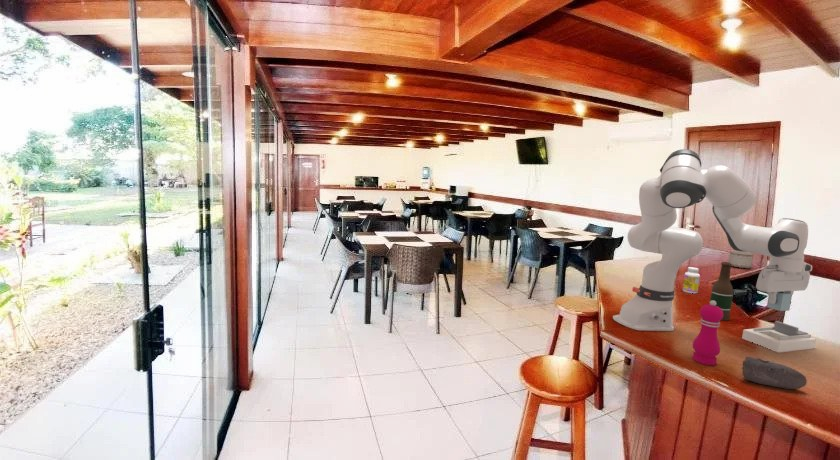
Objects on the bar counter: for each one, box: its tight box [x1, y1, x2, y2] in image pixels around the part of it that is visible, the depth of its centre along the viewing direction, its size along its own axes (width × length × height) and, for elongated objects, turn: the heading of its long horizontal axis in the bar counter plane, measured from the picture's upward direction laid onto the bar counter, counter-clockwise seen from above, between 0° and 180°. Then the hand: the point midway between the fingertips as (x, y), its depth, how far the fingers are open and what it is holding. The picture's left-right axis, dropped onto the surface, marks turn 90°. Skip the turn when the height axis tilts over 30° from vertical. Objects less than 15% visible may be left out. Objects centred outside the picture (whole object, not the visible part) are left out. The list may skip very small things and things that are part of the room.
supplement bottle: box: [682, 266, 701, 294], centre depth 212 cm, size 7×7×13 cm
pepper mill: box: [692, 300, 723, 366], centre depth 129 cm, size 7×7×20 cm
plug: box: [766, 292, 793, 312], centre depth 145 cm, size 4×4×8 cm
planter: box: [728, 250, 754, 269], centre depth 284 cm, size 13×13×10 cm
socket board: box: [741, 325, 817, 353], centre depth 148 cm, size 18×12×4 cm, turn 106°
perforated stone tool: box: [741, 355, 807, 390], centre depth 116 cm, size 15×5×7 cm, turn 63°
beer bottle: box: [708, 261, 734, 321], centre depth 173 cm, size 8×8×24 cm
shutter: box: [773, 320, 809, 336], centre depth 149 cm, size 7×7×3 cm
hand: (778, 302), depth 145 cm, fingers closed on plug, 4 cm apart
